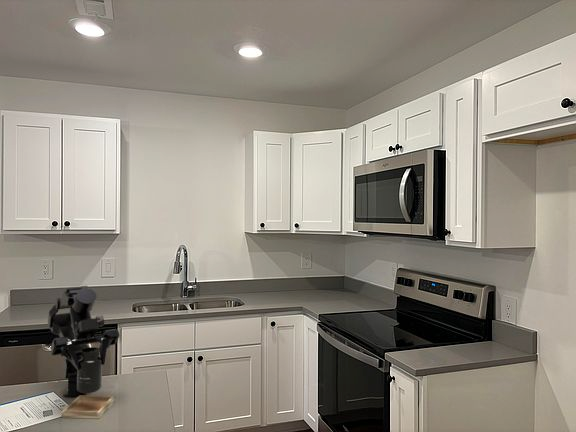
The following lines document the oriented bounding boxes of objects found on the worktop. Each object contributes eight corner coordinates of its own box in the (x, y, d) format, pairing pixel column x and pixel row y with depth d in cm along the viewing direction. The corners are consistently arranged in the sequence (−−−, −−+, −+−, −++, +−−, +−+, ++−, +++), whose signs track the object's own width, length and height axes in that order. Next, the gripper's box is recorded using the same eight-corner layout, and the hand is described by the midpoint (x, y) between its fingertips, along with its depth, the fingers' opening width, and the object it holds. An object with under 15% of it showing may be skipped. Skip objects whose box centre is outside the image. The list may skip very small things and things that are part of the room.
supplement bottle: (79, 395, 131) (79, 354, 131) (74, 387, 137) (75, 348, 136) (104, 390, 135) (104, 351, 135) (99, 382, 141) (99, 344, 140)
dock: (79, 401, 142) (79, 395, 142) (114, 401, 141) (114, 396, 141) (61, 417, 131) (61, 411, 131) (99, 418, 130) (99, 412, 130)
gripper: (53, 311, 132) (61, 360, 124) (118, 303, 144) (129, 347, 136) (47, 331, 139) (54, 378, 131) (110, 322, 151) (120, 365, 142)
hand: (91, 366), depth 135 cm, fingers closed on supplement bottle, 7 cm apart
